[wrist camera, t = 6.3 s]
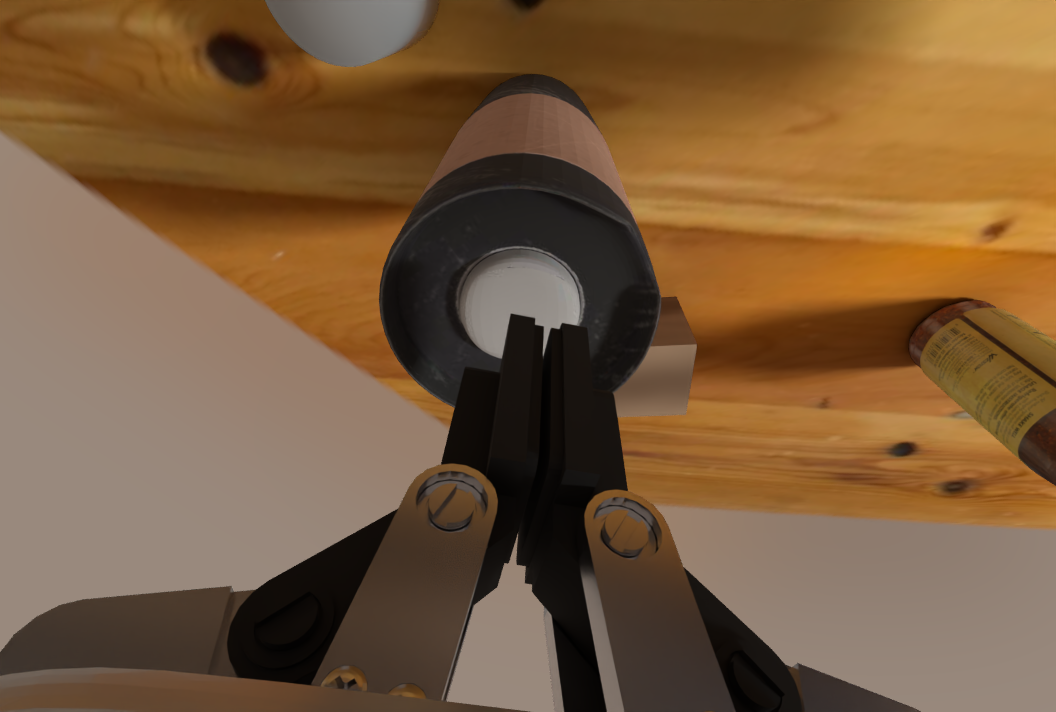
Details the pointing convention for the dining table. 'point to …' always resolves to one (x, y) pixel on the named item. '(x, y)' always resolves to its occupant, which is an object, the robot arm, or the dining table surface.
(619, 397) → the grey cube
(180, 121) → the dining table surface
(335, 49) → the grey rounded cylinder
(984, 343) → the sauce bottle
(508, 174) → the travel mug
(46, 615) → the robot arm
